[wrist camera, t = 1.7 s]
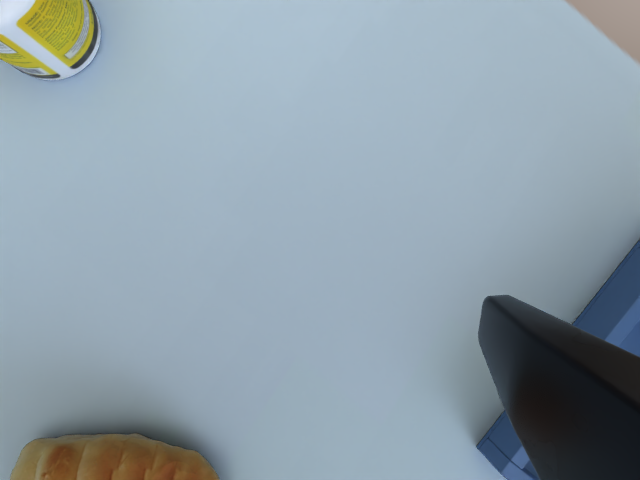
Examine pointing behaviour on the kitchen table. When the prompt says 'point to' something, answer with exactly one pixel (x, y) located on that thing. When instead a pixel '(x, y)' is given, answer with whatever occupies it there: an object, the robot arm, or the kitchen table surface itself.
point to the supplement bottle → (48, 36)
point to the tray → (597, 319)
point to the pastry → (109, 459)
